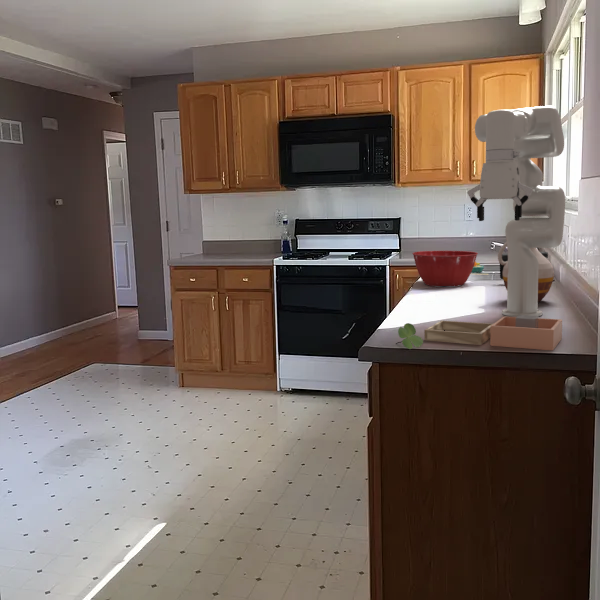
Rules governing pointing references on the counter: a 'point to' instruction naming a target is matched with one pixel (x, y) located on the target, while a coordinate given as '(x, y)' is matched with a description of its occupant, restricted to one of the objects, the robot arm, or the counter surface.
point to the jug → (543, 272)
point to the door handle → (505, 258)
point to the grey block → (527, 321)
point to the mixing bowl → (444, 267)
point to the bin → (526, 334)
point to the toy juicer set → (478, 269)
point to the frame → (459, 332)
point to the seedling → (409, 336)
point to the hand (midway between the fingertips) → (499, 220)
